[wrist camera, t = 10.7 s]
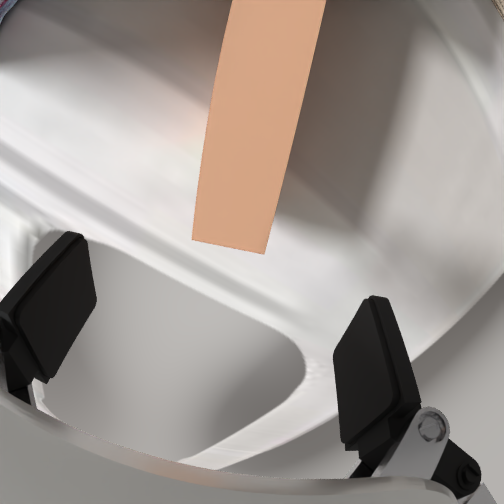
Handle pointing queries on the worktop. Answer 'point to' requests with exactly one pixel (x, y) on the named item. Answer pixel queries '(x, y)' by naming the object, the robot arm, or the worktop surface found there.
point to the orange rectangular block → (253, 119)
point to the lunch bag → (5, 7)
